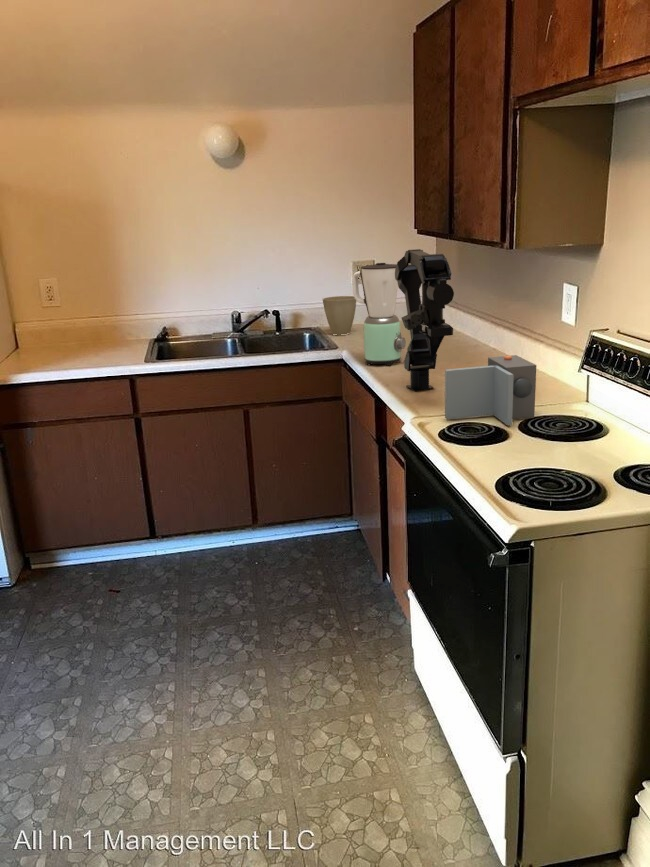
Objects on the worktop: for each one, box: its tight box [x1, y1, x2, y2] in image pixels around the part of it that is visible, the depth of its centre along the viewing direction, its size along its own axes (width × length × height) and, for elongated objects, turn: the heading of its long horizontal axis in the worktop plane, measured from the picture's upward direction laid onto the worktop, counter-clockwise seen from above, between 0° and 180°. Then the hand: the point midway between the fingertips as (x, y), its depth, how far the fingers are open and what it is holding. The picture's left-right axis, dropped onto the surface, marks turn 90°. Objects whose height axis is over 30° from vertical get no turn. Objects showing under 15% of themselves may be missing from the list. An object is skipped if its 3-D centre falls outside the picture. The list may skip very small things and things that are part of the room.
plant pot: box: [322, 295, 357, 335], centre depth 313 cm, size 15×15×16 cm
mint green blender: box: [352, 262, 407, 367], centre depth 252 cm, size 19×13×35 cm
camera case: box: [487, 354, 537, 421], centre depth 189 cm, size 14×8×15 cm, turn 8°
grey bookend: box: [444, 365, 514, 426], centre depth 182 cm, size 12×14×13 cm
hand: (432, 356), depth 203 cm, fingers closed
